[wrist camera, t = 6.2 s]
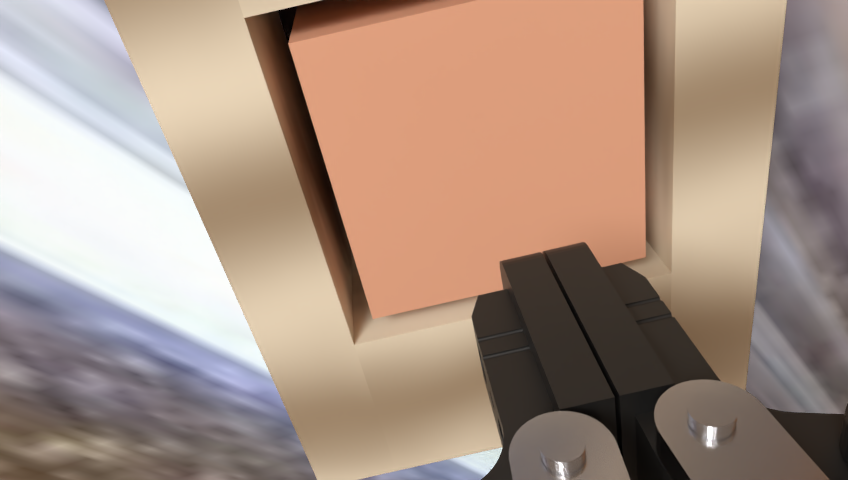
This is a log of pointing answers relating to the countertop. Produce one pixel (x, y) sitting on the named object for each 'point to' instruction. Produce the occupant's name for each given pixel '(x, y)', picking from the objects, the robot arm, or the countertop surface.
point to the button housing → (451, 322)
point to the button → (475, 135)
